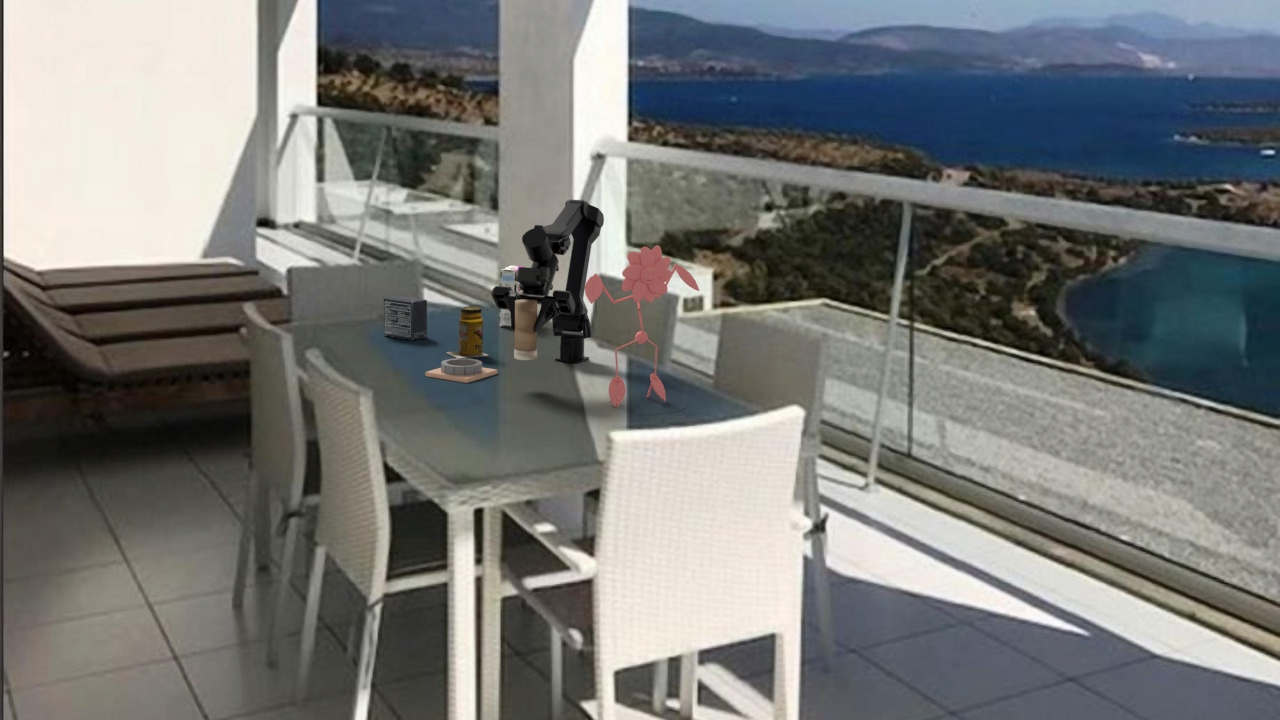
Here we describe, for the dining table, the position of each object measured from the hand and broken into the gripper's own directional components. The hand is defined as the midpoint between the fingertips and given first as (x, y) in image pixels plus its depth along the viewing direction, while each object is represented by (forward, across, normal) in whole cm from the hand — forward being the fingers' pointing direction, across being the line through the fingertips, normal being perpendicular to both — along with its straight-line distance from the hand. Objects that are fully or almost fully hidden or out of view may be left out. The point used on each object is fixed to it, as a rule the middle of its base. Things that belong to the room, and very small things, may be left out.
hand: (523, 330), depth 290 cm
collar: (+4, -18, +15) cm, 24 cm away
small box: (-21, -51, +41) cm, 69 cm away
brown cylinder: (+4, 0, +6) cm, 7 cm away
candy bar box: (-42, -32, +62) cm, 82 cm away
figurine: (+14, +30, +6) cm, 34 cm away
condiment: (-11, -27, +31) cm, 42 cm away
